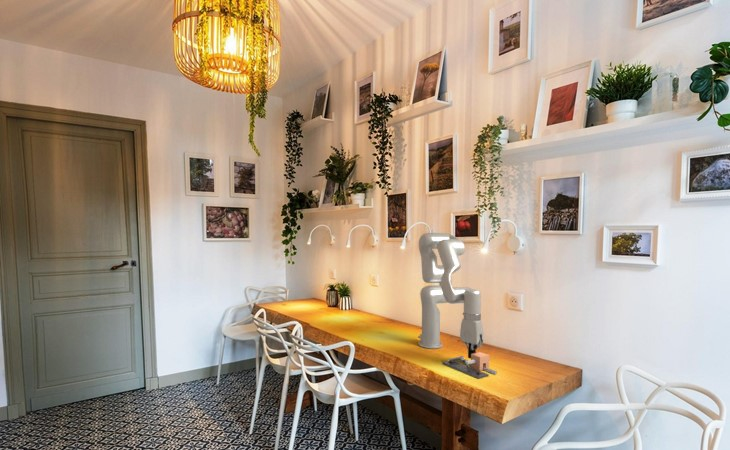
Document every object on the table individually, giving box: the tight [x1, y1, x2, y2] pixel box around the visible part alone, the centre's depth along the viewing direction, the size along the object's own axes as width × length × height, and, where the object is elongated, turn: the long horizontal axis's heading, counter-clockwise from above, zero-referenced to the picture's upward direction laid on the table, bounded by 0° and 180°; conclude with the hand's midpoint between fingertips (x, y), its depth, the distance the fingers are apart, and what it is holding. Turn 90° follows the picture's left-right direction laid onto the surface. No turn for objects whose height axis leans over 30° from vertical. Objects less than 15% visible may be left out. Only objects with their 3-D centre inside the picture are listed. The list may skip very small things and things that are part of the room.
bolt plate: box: [442, 360, 489, 380], centre depth 165 cm, size 21×6×1 cm, turn 32°
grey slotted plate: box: [448, 355, 498, 375], centre depth 167 cm, size 21×9×2 cm, turn 32°
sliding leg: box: [464, 351, 490, 372], centre depth 166 cm, size 5×12×6 cm, turn 122°
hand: (471, 357), depth 171 cm, fingers closed
